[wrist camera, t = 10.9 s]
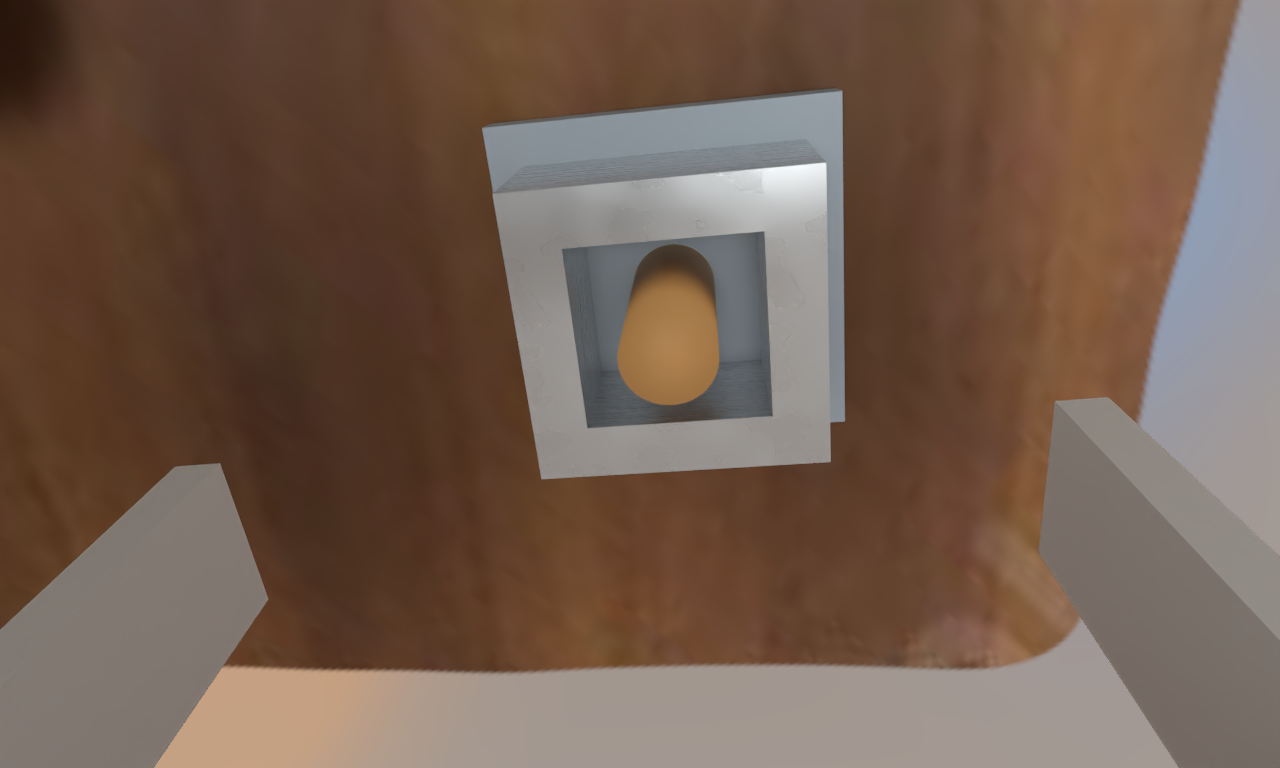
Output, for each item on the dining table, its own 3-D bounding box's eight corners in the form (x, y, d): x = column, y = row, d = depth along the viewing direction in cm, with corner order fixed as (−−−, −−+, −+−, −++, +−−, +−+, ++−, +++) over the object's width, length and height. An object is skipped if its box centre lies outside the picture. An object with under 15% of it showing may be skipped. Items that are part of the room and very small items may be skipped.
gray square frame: (562, 416, 27) (541, 479, 24) (522, 166, 24) (492, 193, 20) (812, 399, 26) (830, 462, 23) (805, 138, 23) (826, 162, 20)
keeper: (541, 428, 29) (496, 547, 22) (490, 123, 25) (417, 163, 18) (839, 408, 28) (883, 527, 21) (836, 87, 24) (888, 115, 17)
